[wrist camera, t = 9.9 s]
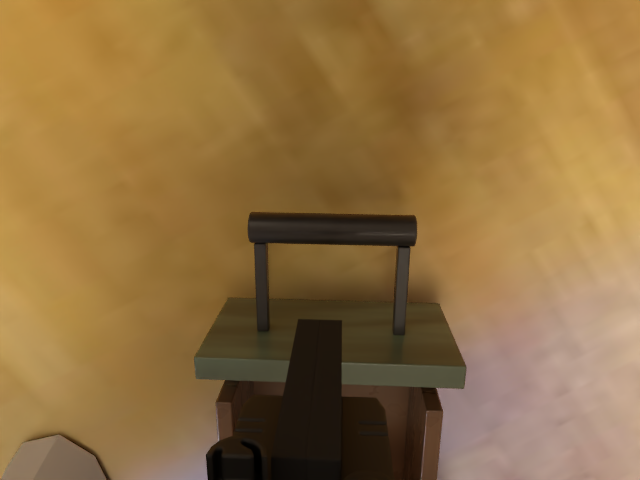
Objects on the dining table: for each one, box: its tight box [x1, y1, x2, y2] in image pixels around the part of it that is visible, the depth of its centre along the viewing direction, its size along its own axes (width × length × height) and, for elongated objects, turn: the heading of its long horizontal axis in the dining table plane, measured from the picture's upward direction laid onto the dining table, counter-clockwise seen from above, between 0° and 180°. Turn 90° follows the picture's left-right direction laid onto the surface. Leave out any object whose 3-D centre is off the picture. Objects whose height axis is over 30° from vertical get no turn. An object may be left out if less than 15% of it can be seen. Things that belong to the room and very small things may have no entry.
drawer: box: [194, 212, 466, 480], centre depth 27 cm, size 22×13×7 cm, turn 0°
